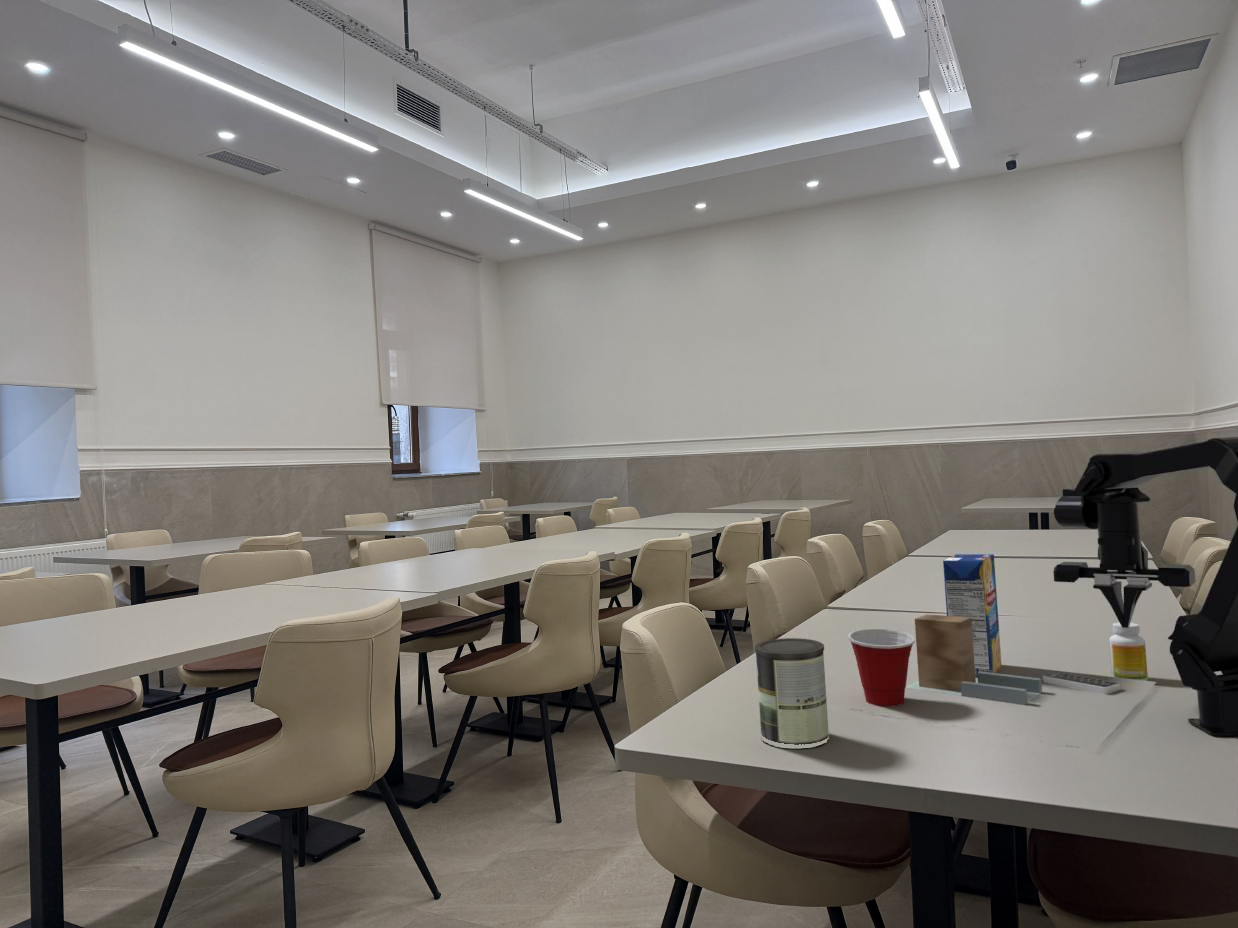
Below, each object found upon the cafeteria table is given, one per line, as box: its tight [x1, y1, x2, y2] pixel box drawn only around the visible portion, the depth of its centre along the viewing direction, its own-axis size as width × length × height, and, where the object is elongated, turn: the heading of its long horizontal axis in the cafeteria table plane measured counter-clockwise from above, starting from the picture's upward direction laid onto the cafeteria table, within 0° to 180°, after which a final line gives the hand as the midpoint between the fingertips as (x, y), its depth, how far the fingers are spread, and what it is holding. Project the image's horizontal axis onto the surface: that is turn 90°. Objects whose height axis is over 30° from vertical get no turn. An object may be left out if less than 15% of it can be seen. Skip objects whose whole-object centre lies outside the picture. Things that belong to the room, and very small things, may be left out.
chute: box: [905, 671, 1043, 706], centre depth 137 cm, size 20×9×3 cm, turn 46°
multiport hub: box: [1042, 671, 1121, 695], centre depth 136 cm, size 4×11×2 cm, turn 31°
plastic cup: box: [847, 628, 916, 707], centre depth 134 cm, size 11×11×12 cm
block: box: [914, 613, 977, 692], centre depth 140 cm, size 8×5×12 cm, turn 46°
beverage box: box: [942, 553, 1003, 678], centre depth 150 cm, size 7×11×22 cm, turn 145°
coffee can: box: [754, 637, 830, 745], centre depth 120 cm, size 10×10×14 cm
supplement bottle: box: [1109, 622, 1149, 682], centre depth 141 cm, size 5×5×10 cm
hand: (1125, 627), depth 128 cm, fingers closed
